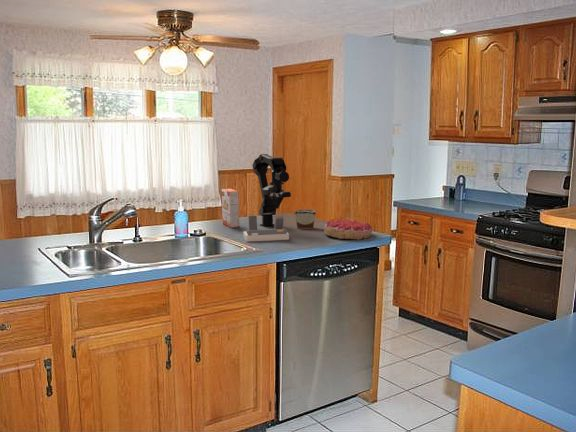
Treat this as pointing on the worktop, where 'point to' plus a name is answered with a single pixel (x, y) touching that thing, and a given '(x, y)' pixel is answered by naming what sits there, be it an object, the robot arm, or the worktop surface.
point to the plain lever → (252, 222)
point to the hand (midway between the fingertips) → (277, 208)
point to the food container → (305, 218)
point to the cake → (347, 229)
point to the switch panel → (266, 235)
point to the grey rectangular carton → (278, 222)
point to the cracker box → (230, 207)
